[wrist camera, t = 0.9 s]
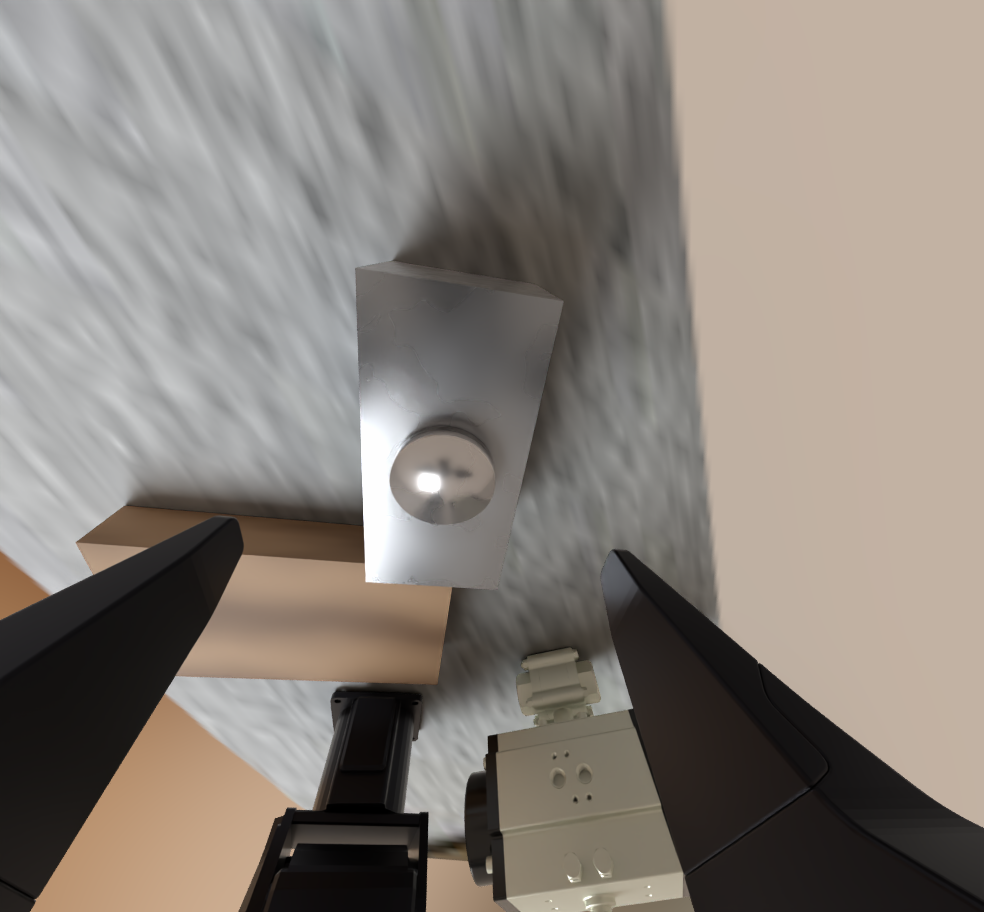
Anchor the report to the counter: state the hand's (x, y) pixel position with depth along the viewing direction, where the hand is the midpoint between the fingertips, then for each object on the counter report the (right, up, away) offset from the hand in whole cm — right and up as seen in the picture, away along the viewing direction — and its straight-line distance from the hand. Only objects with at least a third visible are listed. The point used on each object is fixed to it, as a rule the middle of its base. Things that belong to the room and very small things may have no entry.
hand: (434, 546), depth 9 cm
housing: (0, +4, +7) cm, 8 cm away
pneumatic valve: (+6, -12, +17) cm, 22 cm away
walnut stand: (-9, -5, +12) cm, 16 cm away
